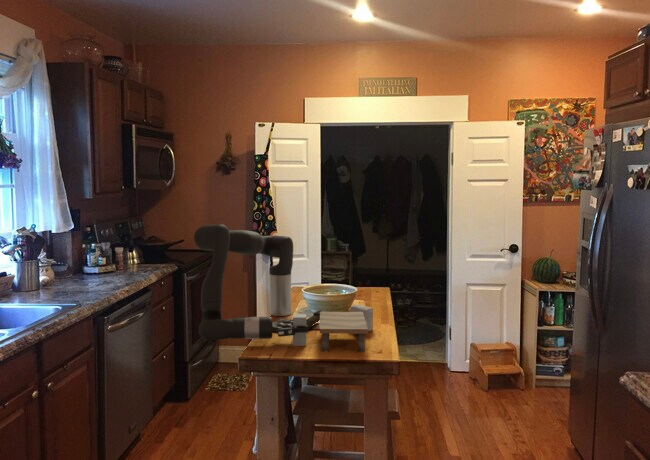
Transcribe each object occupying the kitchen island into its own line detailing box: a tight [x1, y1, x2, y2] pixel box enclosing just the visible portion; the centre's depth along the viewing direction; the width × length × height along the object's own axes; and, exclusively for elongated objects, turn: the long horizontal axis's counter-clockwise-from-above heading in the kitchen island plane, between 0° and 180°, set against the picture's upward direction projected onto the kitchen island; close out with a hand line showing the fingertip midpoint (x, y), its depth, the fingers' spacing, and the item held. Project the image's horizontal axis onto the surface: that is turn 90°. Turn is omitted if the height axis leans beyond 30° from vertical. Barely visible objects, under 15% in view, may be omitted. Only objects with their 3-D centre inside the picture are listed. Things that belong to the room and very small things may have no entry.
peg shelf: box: [319, 311, 369, 353], centre depth 184 cm, size 22×16×8 cm
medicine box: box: [350, 304, 374, 332], centre depth 200 cm, size 8×4×9 cm, turn 43°
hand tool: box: [306, 309, 323, 330], centre depth 204 cm, size 19×4×5 cm, turn 154°
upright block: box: [292, 313, 307, 347], centre depth 182 cm, size 4×4×10 cm
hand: (307, 326), depth 182 cm, fingers closed on upright block, 4 cm apart
